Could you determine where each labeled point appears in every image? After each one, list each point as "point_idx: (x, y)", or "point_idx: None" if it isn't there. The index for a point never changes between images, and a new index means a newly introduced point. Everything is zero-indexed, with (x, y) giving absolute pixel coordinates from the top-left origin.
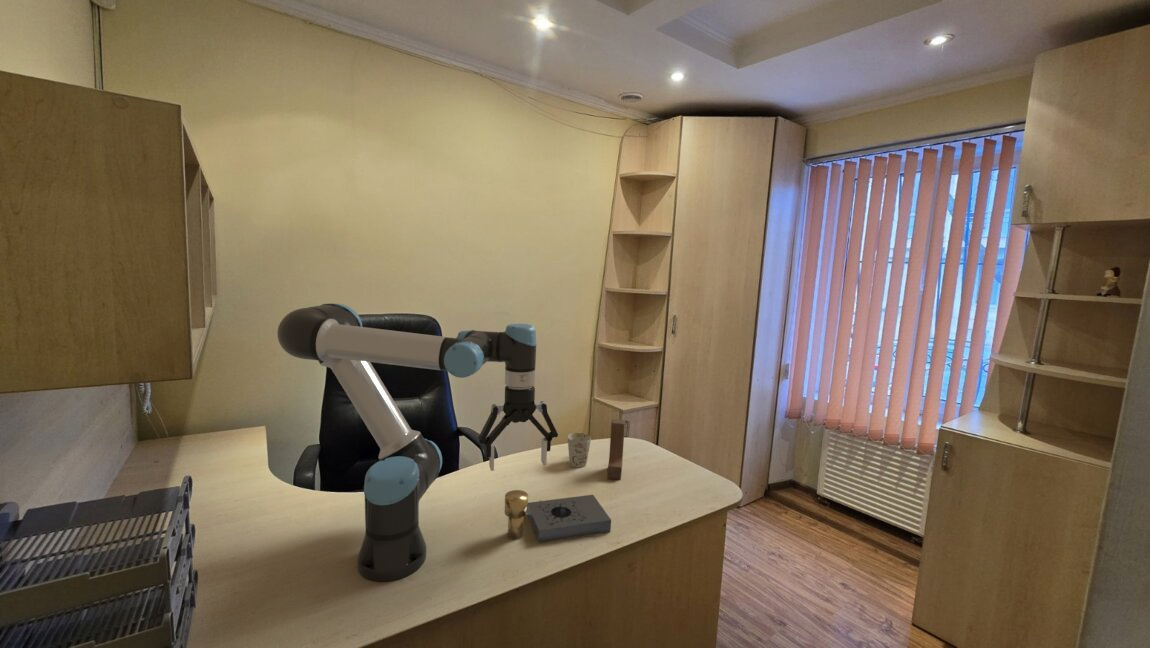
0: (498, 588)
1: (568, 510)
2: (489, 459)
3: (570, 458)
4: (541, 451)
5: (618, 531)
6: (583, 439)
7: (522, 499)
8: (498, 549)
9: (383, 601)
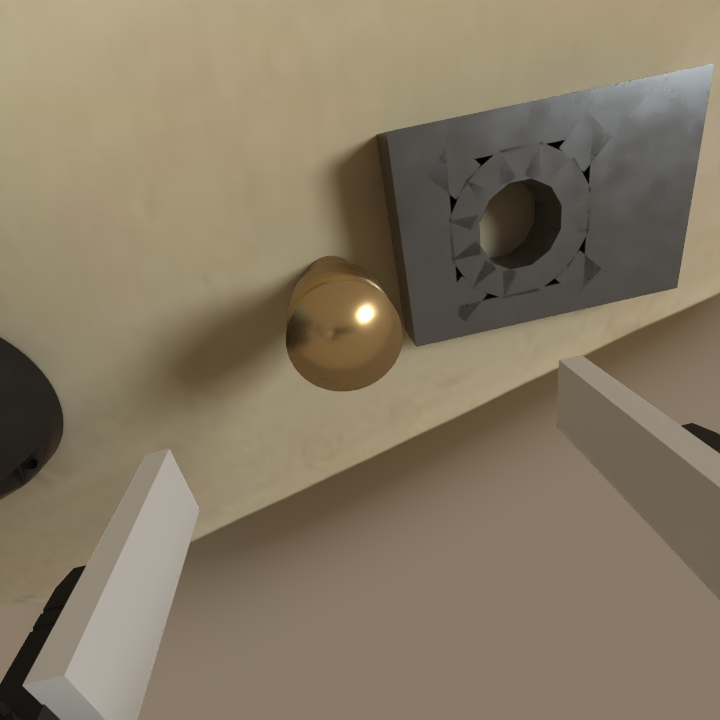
0: (296, 490)
1: (553, 198)
2: (124, 497)
3: None
4: (613, 408)
5: None
6: None
7: (373, 373)
8: (280, 357)
9: (33, 531)
